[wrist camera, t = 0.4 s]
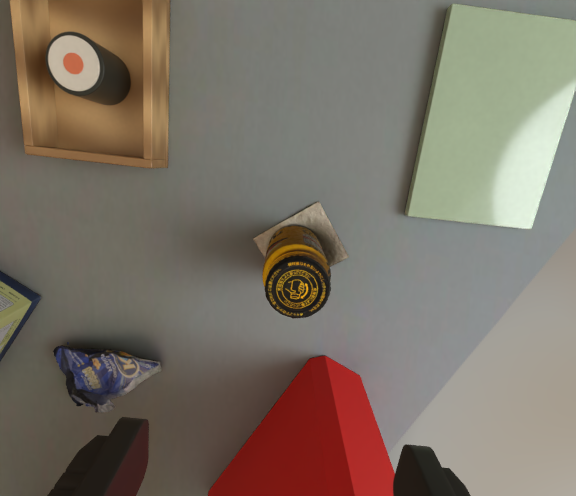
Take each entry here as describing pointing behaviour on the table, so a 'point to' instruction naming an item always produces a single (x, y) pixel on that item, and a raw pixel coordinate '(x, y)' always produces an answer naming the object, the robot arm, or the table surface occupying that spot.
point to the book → (313, 442)
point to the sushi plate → (493, 116)
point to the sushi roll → (87, 69)
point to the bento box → (84, 113)
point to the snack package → (101, 374)
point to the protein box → (13, 309)
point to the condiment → (300, 262)
